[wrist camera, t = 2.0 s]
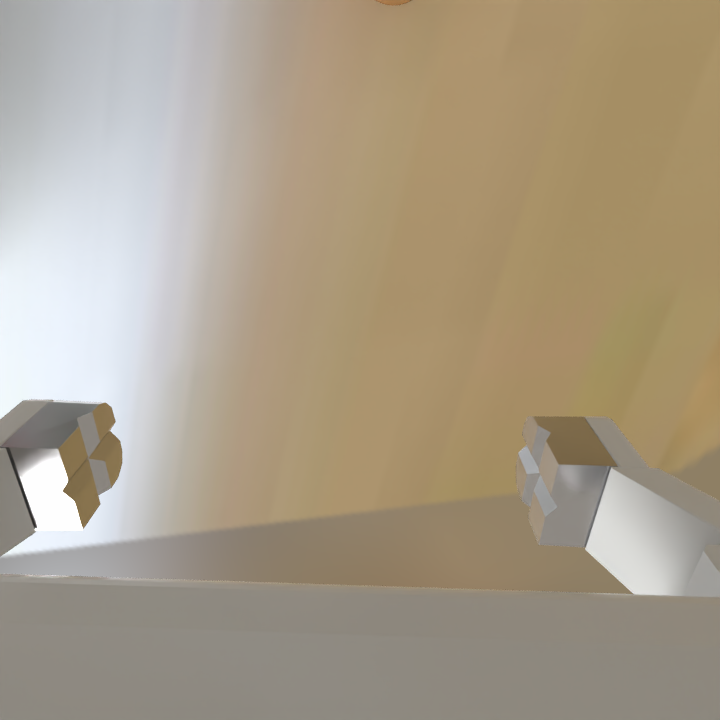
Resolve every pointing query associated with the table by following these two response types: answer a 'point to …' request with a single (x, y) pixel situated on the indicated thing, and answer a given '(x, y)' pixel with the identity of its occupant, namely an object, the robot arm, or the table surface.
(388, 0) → the orange and grey cylinder
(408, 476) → the table surface
